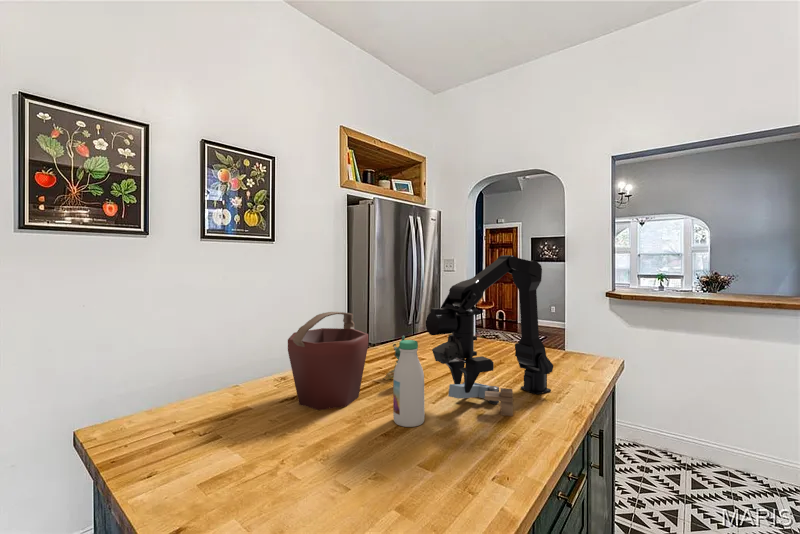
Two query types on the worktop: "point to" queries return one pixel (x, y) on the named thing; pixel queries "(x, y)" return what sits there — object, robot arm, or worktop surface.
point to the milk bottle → (408, 387)
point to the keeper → (502, 400)
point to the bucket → (327, 363)
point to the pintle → (495, 389)
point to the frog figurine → (391, 372)
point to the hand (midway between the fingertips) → (462, 390)
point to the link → (475, 391)
